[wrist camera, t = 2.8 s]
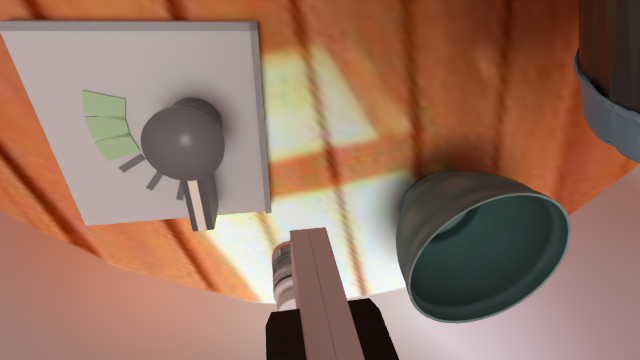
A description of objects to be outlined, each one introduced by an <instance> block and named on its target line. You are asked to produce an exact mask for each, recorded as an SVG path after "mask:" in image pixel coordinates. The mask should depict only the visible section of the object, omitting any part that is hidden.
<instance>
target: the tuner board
mask: <svg viewBox="0 0 640 360" xmlns="http://www.w3.org/2000/svg"><path fill="white" fill-rule="evenodd" d="M0 33H1V35H2V37H3V39H4V42H5V44H6V46H7V48H8V51H9V53H10V55H11V58H12V60H13V62H14V64H15V67H16V69H17V71H18V73H19V76H20V78H21V80H22V83H23V85H24V87H25V89H26V92H27V94H28V96H29V98H30V101H31V103H32V105H33V107H34V110H35V112H36V114H37V117H38V119H39V121H40V123H41V126H42V128H43V130H44V132H45V135H46V137H47V139H48V141H49V144H50V146H51V148H52V151H53V153H54V155H55V157H56V160H57V162H58V164H59V166H60V169H61V171H62V173H63V175H64V178H65V180H66V182H67V185H68V187H69V189H70V191H71V194H72V196H73V198H74V200H75V203H76V205H77V207H78V209H79V212H80V214H81V216H82V219H83V221H84V223H85V225H86V226H90V225H102V224H115V223H127V222H139V221H151V220H163V219H175V218H187V217H189V212H188V208H187V204H186V199H185V195H184V197H183V201H182V200H177V199H176V198H177V193H178V188H179V183H180V180H175V179H172V178H169V177H167V176H165V175H163V176H162V178H161V179H160V180H159V182H158V183H157V185H156V186H155V187H154V189H153V190H152V191H151V190H149V189H147V188H146V187H147V185H148V184H149V182H150V181H151V180H152V178H153V177H154V175H155V174H156V172H157V170H156V169H155V168H153V167H152V166H151V165H150V163H149V162H148V161H147V159H146V158H145V156H144V154H143V151H142V148H141V140H140V139H141V133H142V130H143V127H144V125H145V124H146V122H147V121H148V120H149V119H150V118H151V117H152V116H153V115H154V114H155V113H156V112H158V111H160V110H162V109H164V108H167V107H171V106H172V105H173V104H174V103H175V102H177V101H179V100H181V99H184V98H198V99H202V100H204V101H206V102H208V103H210V104H211V105H212V106H213V107H214V108H215V109H216V110H217V111H218V113H219V115H220V117H221V119H222V133H223V136H224V140H225V152H224V156H223V160H222V162H221V164H220V166H219V167H218V168H217V170H216V171H214V172H213V176H214V182H215V187H216V193H217V199H218V205H219V206H218V211H217V215H223V214H235V213H247V212H259V211H266V213H271V198H270V185H269V171H268V158H267V145H266V131H265V118H264V104H263V91H262V78H261V64H260V51H259V37H258V24H257V21H208V20H0ZM82 90H87V91H92V92H97V93H102V94H107V95H111V96H116V97H121V98H126V120H127V124H128V127H129V130H130V134H131V135H132V137H133V139H134V140H135V142H136V143H137V145H138V147H139V148H140V150H141V151H140V152H137V153H134V154H131V155H127V156H124V157H121V158H117V159H114V160H111V161H107V160H106V159H105V158H104V156H103V155H102V153H101V152H100V150H99V149H98V147H97V146H96V145H95V143H94V142H95V141H99V140H102V139H92V137H91V134H90V131H89V129H88V126H87V123H86V121H85V118H84V117H86V116H95V115H89V114H84V113H83V97H82ZM103 139H105V138H103ZM139 154H141V155H142V156H143V157H144V158H145V160H144V161H142V162H140V163H139V164H137V165H136V166H134V167H132V168H131V169H129V170H128V171H126V172H124V173H123V172H122V171H121V170H120V169H119V167H120V166H122V165H123V164H125V163H127V162H128V161H130V160H131V159H133V158H134V157H136V156H138V155H139Z"/></svg>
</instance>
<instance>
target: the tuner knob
mask: <svg viewBox="0 0 640 360" xmlns="http://www.w3.org/2000/svg"><path fill="white" fill-rule="evenodd" d="M140 140H141V148H142V151H143V154H144V156H145V158H146V159H147V161H148V162H149V163H150V165H151V166H152V167H153V168H155V169H156V170H157V171H158V172H160V173H161V174H163V175H165V176H167V177H169V178H172V179H175V180H180V181H181V182H182V187H183V191H184V195H185V199H186V204H187V208H188V212H189V217H190V221H191V225H192V229H193V231H205V230H213V229H214V227H215V222H216V217H217V211H218V206H219V205H218V199H217V193H216V187H215V182H214V176H213V172H214V171H216V170H217V168H218V167H219V166H220V164H221V162H222V160H223V156H224V152H225V140H224V136H223V133H222V119H221V117H220V115H219V113H218V111H217V110H216V109H215V108H214V107H213V106H212V105H211V104H210V103H208V102H206V101H204V100H202V99H198V98H184V99H181V100H179V101H177V102H175V103H174V104H173V105H172V106H171V107H167V108H164V109H162V110H160V111H158V112H156V113H155V114H154V115H153V116H152V117H151V118H150V119H149V120H148V121H147V122H146V124H145V125H144V127H143V130H142V133H141V139H140Z"/></svg>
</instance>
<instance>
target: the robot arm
mask: <svg viewBox="0 0 640 360" xmlns="http://www.w3.org/2000/svg"><path fill="white" fill-rule="evenodd" d="M574 69H575V72H576V75H577V77H578V79H579V81H580V92H581V103H582V111H583V115H584V118H585V120H586V122H587V124H588V126H589V127H590V129H591V130H592V131H593V132H594V134H595V135H596V136H597V137H598V138H599V139H600V140H602V141H603V142H605V143H607V144H609V145H611V146H614V147H616V149H617V150H618V151H619V152H620V154H622V155H623V156H625V157H627V158H629V159H631V160H633V161H635V162H638V163H640V0H579V49H578V50H577V54H576V56H575V58H574ZM290 241H291V263H292V280H293V288H294V296H295V303H296V309H291V310H284V311H277V312H271V314H270V317H269V319H268V322H267V324H266V354H267V355H266V356H267V360H399V358H398V355H397V353H396V350H395V348H394V345H393V343H392V340H391V338H390V336H389V332H388V330H387V327H386V326H385V322H384V320H383V317H382V314H381V312H380V310H379V308H378V307H377V306H376V305H375V304H374V303H373V302H372V301H371V299H370V298H366V299H359V300H351V301H347V298H346V295H345V292H344V288H343V285H342V282H341V278H340V275H339V271H338V268H337V265H336V261H335V258H334V255H333V251H332V248H331V245H330V241H329V238H328V234H327V231H326V228H325V227H323V228H313V229H303V230H293V231H290Z"/></svg>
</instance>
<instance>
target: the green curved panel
mask: <svg viewBox="0 0 640 360" xmlns="http://www.w3.org/2000/svg"><path fill="white" fill-rule="evenodd" d="M82 97H83V113H84V114H89V115H95V116H86V117H84V118H85V121H86V123H87V126H88V129H89V131H90V134H91V137H92V139H102V140H99V141H95V142H94V143H95V145H96V146H97V147H98V149H99V150H100V152H101V153H102V155H103V156H104V158H105V159H106V160H107V161H111V160H114V159H117V158H121V157H124V156H127V155H131V154H134V153H137V152H140V151H141V150H140V148H139V147H138V145H137V143H136V142H135V140H134V139H133V137H132V135H131V134H130V130H129V127H128V124H127V120H126V98H121V97H116V96H111V95H107V94H102V93H97V92H92V91H87V90H82ZM103 138H105V139H103ZM144 160H145V158H144V157H143V156H142V155H141V154H139V155H138V156H136V157H134V158H133V159H131V160H130V161H128V162H127V163H125V164H123V165H122V166H120V167H119V169H120V170H121V171H122V172H123V173H124V172H126V171H128V170H129V169H131V168H132V167H134V166H136V165H137V164H139V163H140V162H142V161H144ZM162 176H163V174H161V173H160V172H158V171H157V172H156V174H155V175H154V177H153V178H152V180H151V181H150V182H149V184H148V185H147V187H146V188H147V189H149V190H151V191H152V190H153V189H154V187H155V186H156V185H157V183H158V182H159V180H160V179H161V178H162ZM183 197H184V191H183V187H182V182H181V181H180V183H179V188H178V193H177V198H176V199H177V200H182V201H183Z"/></svg>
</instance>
